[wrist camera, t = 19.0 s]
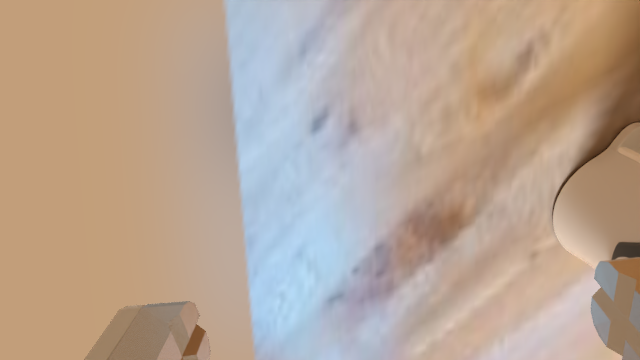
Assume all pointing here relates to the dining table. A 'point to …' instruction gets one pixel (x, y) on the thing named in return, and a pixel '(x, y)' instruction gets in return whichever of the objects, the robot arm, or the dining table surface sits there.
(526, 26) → the dining table surface
